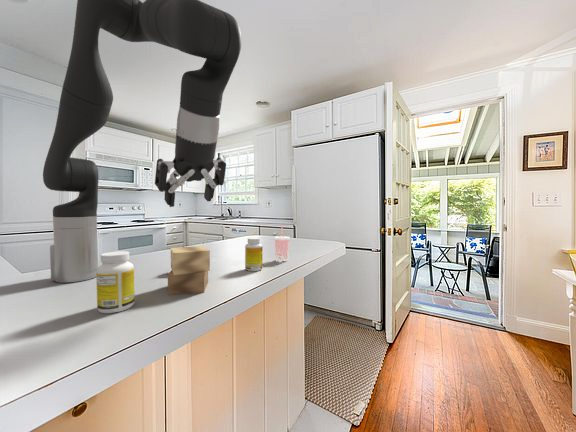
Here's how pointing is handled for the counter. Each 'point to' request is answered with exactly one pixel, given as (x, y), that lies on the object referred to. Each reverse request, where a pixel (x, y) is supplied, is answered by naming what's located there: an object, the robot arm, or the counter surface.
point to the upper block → (190, 260)
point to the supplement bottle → (253, 254)
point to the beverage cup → (281, 246)
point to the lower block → (187, 283)
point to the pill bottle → (115, 282)
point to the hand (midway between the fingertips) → (189, 202)
